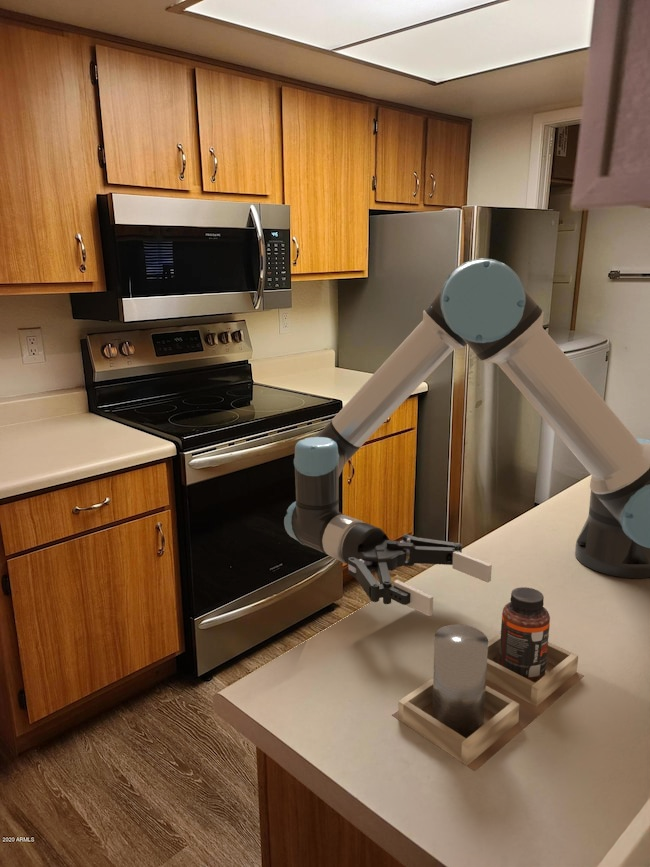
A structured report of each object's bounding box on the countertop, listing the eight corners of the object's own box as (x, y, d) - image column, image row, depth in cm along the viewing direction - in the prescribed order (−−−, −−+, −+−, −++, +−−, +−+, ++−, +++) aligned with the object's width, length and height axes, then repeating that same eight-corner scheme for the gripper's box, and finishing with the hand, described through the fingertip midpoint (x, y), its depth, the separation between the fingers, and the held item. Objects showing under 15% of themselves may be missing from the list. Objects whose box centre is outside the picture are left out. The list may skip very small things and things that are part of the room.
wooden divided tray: (504, 645, 92) (505, 622, 91) (583, 683, 84) (585, 658, 83) (391, 723, 77) (392, 697, 76) (474, 780, 68) (475, 751, 67)
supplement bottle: (548, 687, 81) (555, 608, 78) (500, 682, 82) (504, 603, 79) (542, 660, 87) (548, 584, 84) (497, 655, 88) (501, 581, 85)
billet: (452, 697, 80) (455, 618, 77) (493, 721, 75) (498, 639, 73) (421, 719, 76) (423, 638, 73) (463, 746, 72) (467, 660, 69)
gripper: (406, 542, 114) (509, 583, 99) (298, 589, 98) (402, 647, 83) (406, 503, 112) (512, 539, 97) (297, 544, 96) (403, 595, 81)
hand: (462, 589), depth 90 cm, fingers open, 13 cm apart
